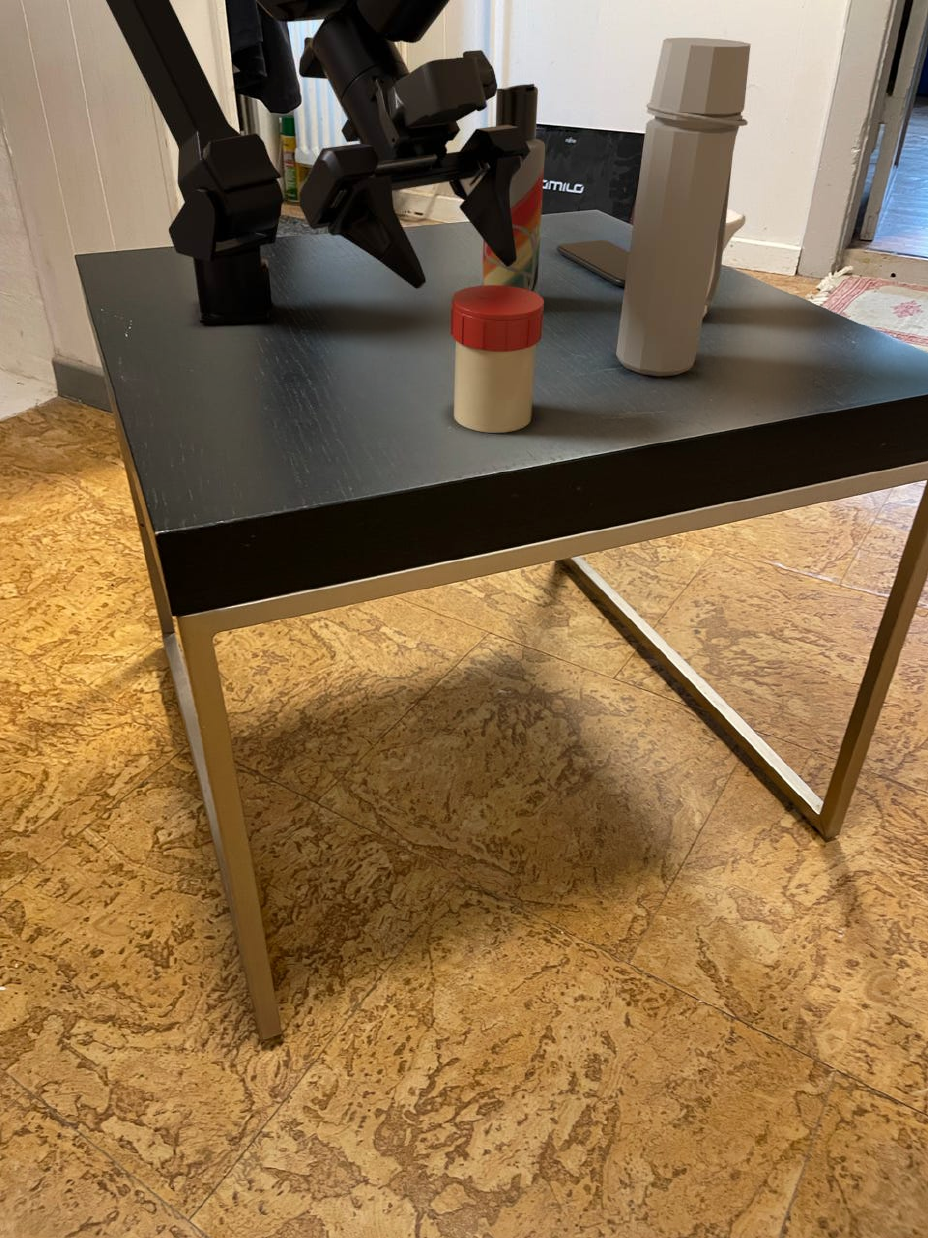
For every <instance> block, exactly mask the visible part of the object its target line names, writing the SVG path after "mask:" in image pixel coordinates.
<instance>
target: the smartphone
mask: <svg viewBox="0 0 928 1238" xmlns="http://www.w3.org/2000/svg"><path fill="white" fill-rule="evenodd" d="M555 249H556V252H557V253H559V254H561V255H562V256H564V257H566V258H568V259H569V260H571V261H573V262H575V263H577V264H578V265H580V266H582V267H584V268H585V269H587V270H589V271H590V272H593V273H594V274H596V275H598V276H599V277H601V278H603V279H605V280H607V281H608V282H610V283H612V284H613V285H615V286H618V287H623V288H625V282H626V275H627V267H628V260H629V252H630V250H627V249H625V248H622V247H621V246H618V245H617V244H615V243H612V242H611V241H609V240H606V239H599V240H598V239H597V240H589V241H588V240H587V241H579V242H577V241H576V242H569V243H561V244H558V245H556V248H555Z"/></svg>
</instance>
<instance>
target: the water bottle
mask: <svg viewBox="0 0 928 1238" xmlns="http://www.w3.org/2000/svg"><path fill="white" fill-rule="evenodd" d="M751 45H752V44H751V43H749V42H744V41H740V40H733V39H731V40H730V39H722V38H707V37H706V38H705V37H667V38H665V39H664V40H663V41H662V45H661V49H660V55H659V59H658V62H657V68H656V73H655V77H654V82H653V86H652V92H651V96H650V100H649V103H646V105H645V107H646V108H647V109H646V113H647V114H649V115H651V116H654V118H652V119H651V118H650V120H648V121H647V122H646V124H645V130H644V138H643V146H642V153H641V162H640V169H639V178H638V185H637V192H636V199H635V200H636V201H635V207H634V214H633V222H632V229H631V237H630V245H629V260H628V267H627V275H626V282H625V287H624V290H623V299H622V305H621V306H622V307H621V314H620V322H619V327H618V337H617V343H616V344H617V345H616V351H615V352H616V353H615V356H616V357H617V359H618V361H619V362H620V364H622V366H623V367H625V368H626V369H627V370H630V371H633V372H635V373H638V374H640V375H645V376H652V377H674V376H677V375H680V374H683V373H685V372H688V371H689V370H691V368H693V366H694V364H695V360H696V356H697V350H698V346H699V340H700V335H701V330H702V325H703V324H702V323H703V319H704V317H703V314H704V308H705V305H707V306H709V305H713V302H714V299H715V296H716V294H717V290H718V286H719V282H720V279H721V274H722V267H723V255H724V251H723V246H724V236H725V226H726V217H727V209H728V207H729V197H730V187H731V176H732V166H733V156H734V149H735V145H736V141H737V140H736V139H737V135H738V132H739V129H740V127H743V126H747V125H748V123H749V122H748V121H747V119H744V118H743V117H744V116H743V115H742V112H743V111H744V110H745V104H746V94H747V85H748V74H749V64H750V54H751ZM717 237H718V239H717ZM716 243H717V249H716V258H715V268H714V274H713V278H712V282H711V287H710V290H709V293H708V295H707V292H708V286H709V281H710V275H711V270H712V265H713V259H714V254H715V248H716ZM706 297H707V298H706Z"/></svg>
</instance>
